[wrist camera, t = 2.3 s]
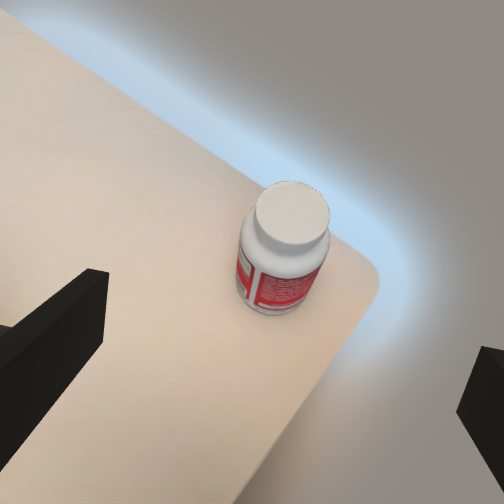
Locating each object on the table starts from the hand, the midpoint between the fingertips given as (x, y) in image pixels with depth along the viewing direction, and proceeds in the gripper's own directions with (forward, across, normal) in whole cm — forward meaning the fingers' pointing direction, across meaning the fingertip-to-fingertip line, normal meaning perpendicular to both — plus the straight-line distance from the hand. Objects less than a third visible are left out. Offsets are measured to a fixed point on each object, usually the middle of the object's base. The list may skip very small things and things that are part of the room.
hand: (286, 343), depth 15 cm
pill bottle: (+21, 0, -6) cm, 22 cm away
